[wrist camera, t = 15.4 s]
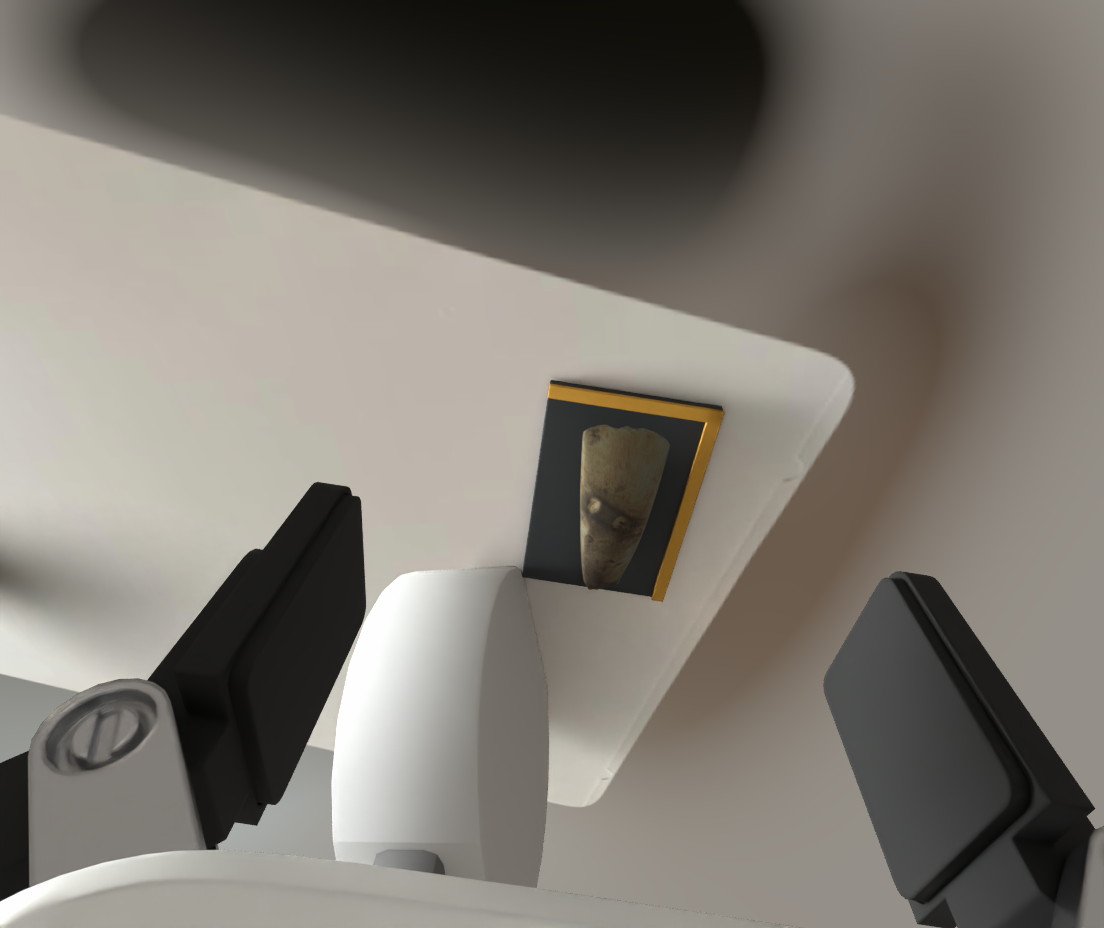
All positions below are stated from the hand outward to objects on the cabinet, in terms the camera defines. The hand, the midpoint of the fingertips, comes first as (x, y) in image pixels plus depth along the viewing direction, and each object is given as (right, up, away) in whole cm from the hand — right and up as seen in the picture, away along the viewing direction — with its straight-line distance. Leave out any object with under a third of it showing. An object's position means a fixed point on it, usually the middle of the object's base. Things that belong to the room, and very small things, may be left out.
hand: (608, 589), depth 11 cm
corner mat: (+3, 0, +27) cm, 27 cm away
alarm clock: (-6, -11, +35) cm, 37 cm away
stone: (+2, 0, +27) cm, 27 cm away
